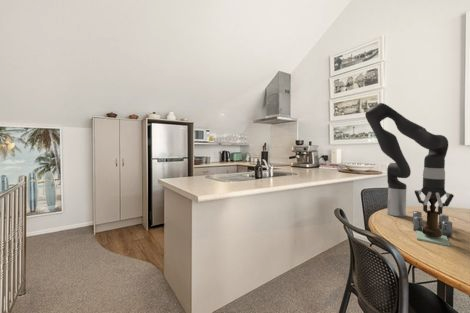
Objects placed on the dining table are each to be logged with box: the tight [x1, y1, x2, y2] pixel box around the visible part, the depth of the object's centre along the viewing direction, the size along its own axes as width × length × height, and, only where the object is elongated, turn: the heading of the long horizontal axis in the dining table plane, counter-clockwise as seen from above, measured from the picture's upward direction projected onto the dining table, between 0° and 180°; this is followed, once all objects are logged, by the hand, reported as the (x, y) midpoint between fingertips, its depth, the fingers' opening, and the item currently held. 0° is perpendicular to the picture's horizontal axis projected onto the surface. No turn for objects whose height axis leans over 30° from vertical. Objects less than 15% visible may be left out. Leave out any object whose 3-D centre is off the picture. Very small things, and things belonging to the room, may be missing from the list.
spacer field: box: [412, 210, 453, 239], centre depth 111 cm, size 14×16×7 cm
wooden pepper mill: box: [422, 198, 442, 237], centre depth 100 cm, size 7×6×18 cm
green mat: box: [415, 230, 451, 247], centre depth 100 cm, size 11×12×1 cm
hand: (432, 213), depth 100 cm, fingers closed on wooden pepper mill, 4 cm apart
